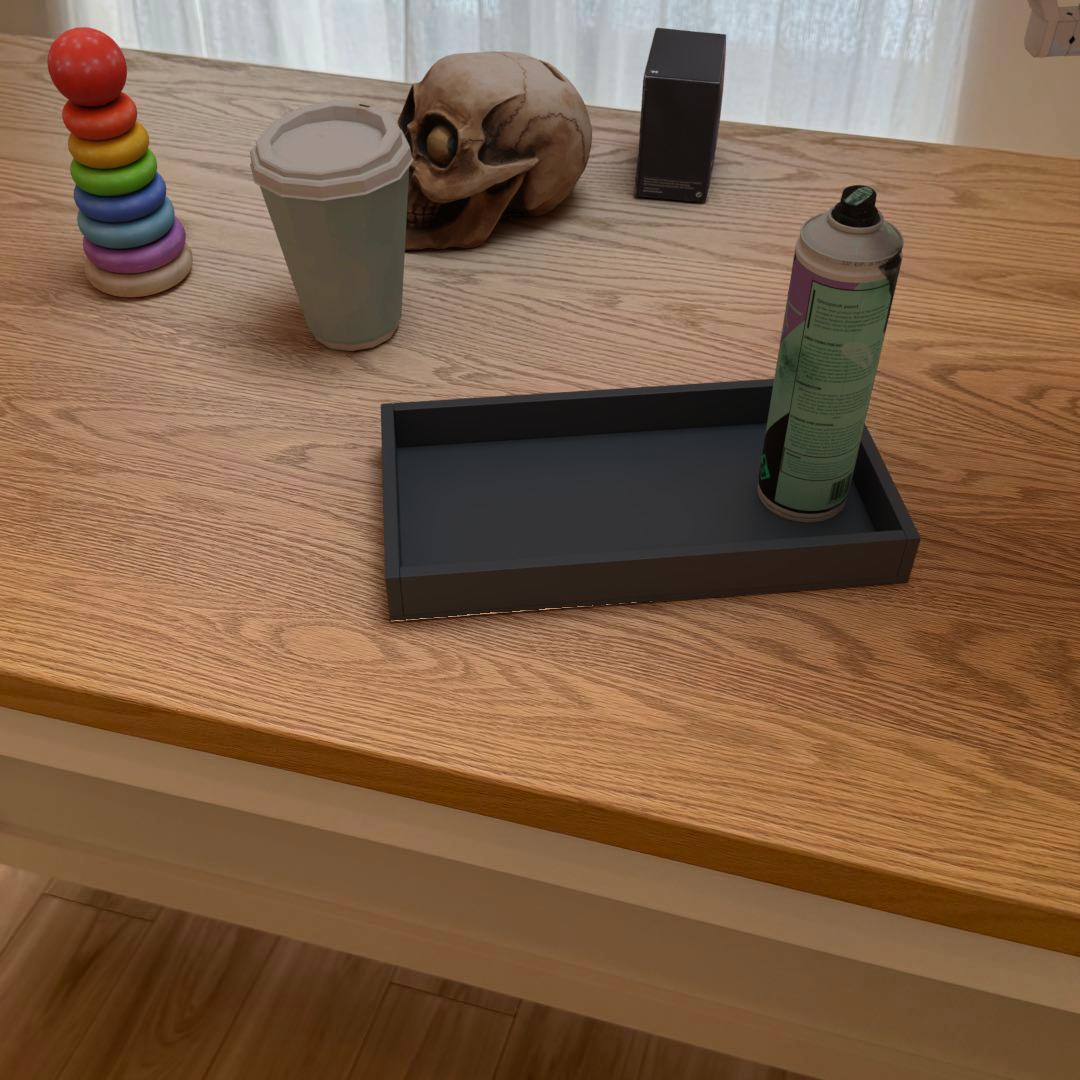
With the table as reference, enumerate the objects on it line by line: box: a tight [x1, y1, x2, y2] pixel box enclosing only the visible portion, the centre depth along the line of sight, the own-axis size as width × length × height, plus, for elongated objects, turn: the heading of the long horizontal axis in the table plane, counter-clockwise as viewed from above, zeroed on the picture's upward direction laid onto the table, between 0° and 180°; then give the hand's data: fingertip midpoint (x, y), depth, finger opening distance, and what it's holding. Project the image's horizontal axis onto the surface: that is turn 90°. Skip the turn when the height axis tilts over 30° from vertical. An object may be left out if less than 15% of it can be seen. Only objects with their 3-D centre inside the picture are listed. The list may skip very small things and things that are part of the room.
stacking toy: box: [46, 26, 194, 298], centre depth 89 cm, size 8×8×19 cm
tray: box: [380, 378, 922, 622], centre depth 74 cm, size 30×16×4 cm, turn 96°
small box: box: [633, 27, 727, 203], centre depth 104 cm, size 11×6×10 cm, turn 171°
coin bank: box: [396, 50, 593, 251], centre depth 99 cm, size 16×17×13 cm
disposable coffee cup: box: [249, 99, 413, 352], centre depth 85 cm, size 11×11×15 cm
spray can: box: [757, 184, 905, 522], centre depth 69 cm, size 6×6×20 cm
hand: (1058, 52), depth 59 cm, fingers closed
